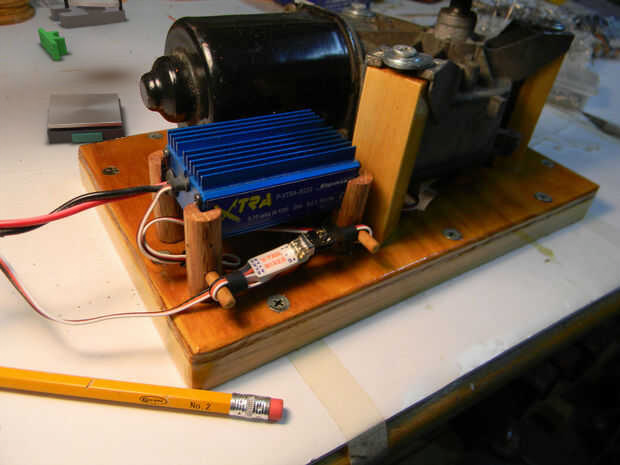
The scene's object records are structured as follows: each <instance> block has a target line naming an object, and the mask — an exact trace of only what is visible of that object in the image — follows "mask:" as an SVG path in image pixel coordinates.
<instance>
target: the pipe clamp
mask: <svg viewBox="0 0 620 465" xmlns="http://www.w3.org/2000/svg"><path fill="white" fill-rule="evenodd" d="M37 32H38V37H39V41H40V45H41V46H42V47H43V48H44V50H45V51H46V52H47V53H48V54H49V55H50V56H51V57H52V58H53V59H54V61H61V60H62V59H61V56H65V55H69V54H68V49H67V42H66V39H65V37H64V36H60V32H59V31H58V30H52V31H46V29H44V28H43V27H37Z"/></svg>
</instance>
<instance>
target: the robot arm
mask: <svg viewBox="0 0 620 465" xmlns="http://www.w3.org/2000/svg"><path fill="white" fill-rule="evenodd" d="M119 4H120V7H118V8H119V11H123V0H119ZM63 5H65V8H68V9H69V4H68V0H63Z"/></svg>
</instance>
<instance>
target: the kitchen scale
mask: <svg viewBox="0 0 620 465" xmlns="http://www.w3.org/2000/svg"><path fill="white" fill-rule="evenodd" d="M118 99H119V107H120V116H121V124H122V125H117V126H93V127H68V128H48V127H47V128H46V129H47V131H46V132H47V137H48V141H49V142H48V143H49V144H66V143H68V144H69V143H73V144H75V143H94V142H106V141H105V140H109V141H112V140H111V139H116V138H121V137H125V138H126V135H125V128H124V119H123V110H122V103H121V98H118Z"/></svg>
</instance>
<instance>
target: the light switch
mask: <svg viewBox="0 0 620 465" xmlns="http://www.w3.org/2000/svg"><path fill="white" fill-rule="evenodd" d="M68 4H69V5H71V6H77V8H85V10H104V11H105V7H120V4H119V0H68Z"/></svg>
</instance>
